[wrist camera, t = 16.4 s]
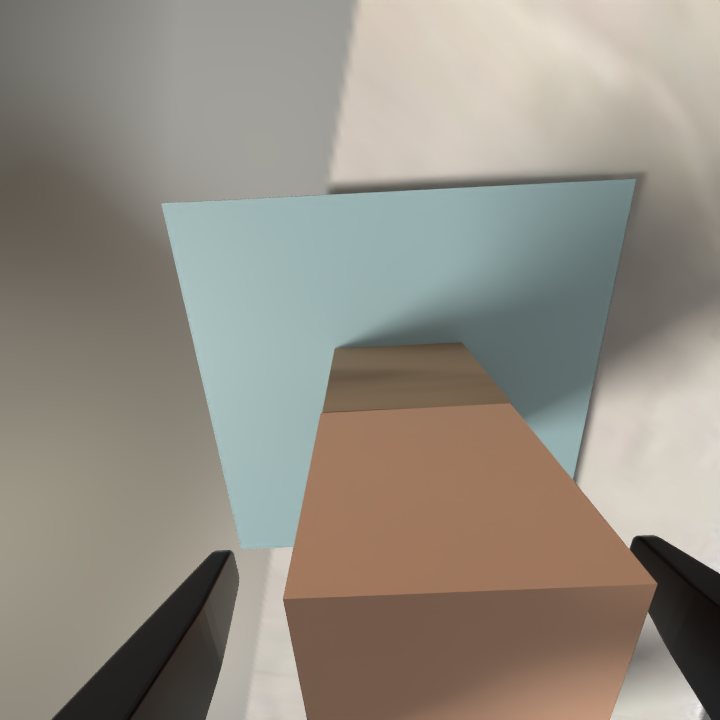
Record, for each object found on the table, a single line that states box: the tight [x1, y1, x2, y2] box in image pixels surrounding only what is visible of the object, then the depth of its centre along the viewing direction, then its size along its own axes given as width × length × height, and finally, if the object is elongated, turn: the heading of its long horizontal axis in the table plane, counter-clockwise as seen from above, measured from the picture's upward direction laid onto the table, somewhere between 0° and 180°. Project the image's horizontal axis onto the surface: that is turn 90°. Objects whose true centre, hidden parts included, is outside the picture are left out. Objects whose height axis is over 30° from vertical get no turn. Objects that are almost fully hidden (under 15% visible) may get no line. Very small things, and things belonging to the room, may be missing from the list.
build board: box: [162, 179, 636, 549], centre depth 15 cm, size 16×16×1 cm
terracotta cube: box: [283, 403, 657, 720], centre depth 8 cm, size 5×5×5 cm
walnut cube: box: [322, 342, 512, 413], centre depth 13 cm, size 5×5×5 cm
